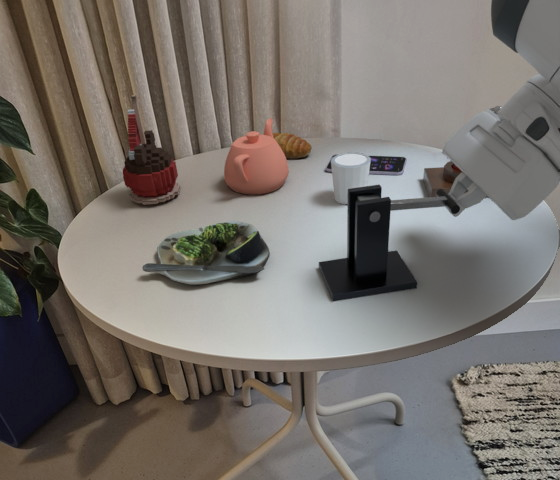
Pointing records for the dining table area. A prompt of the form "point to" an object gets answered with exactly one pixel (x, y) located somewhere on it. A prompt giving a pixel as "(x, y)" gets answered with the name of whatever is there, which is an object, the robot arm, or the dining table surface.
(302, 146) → the pastry
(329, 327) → the dining table surface
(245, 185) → the teapot
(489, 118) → the robot arm
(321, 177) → the dining table surface
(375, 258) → the bracket
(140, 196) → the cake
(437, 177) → the console
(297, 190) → the dining table surface
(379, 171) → the smartphone
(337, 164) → the white cup
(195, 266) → the salad plate
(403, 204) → the lever
